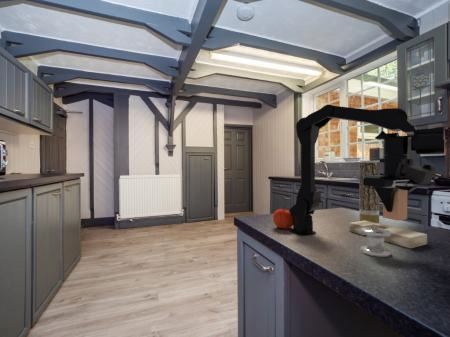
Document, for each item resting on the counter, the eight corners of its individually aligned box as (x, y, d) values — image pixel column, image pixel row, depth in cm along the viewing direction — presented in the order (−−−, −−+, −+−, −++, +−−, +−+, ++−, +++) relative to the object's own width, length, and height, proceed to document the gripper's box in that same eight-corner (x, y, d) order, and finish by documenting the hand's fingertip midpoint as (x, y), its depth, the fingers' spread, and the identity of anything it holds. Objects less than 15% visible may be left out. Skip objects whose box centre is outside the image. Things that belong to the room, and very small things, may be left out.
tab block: (382, 217, 70) (383, 189, 70) (392, 216, 71) (392, 188, 71) (397, 220, 66) (397, 190, 66) (407, 219, 68) (407, 190, 67)
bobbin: (354, 250, 69) (354, 228, 68) (371, 246, 71) (371, 226, 71) (379, 259, 62) (379, 235, 62) (397, 254, 65) (397, 232, 65)
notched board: (349, 231, 88) (349, 222, 88) (364, 228, 91) (364, 220, 91) (410, 248, 70) (410, 237, 70) (427, 244, 73) (427, 234, 73)
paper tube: (382, 226, 94) (382, 160, 94) (362, 225, 96) (362, 161, 95) (375, 222, 101) (375, 161, 100) (357, 221, 102) (357, 161, 102)
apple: (268, 227, 94) (268, 206, 94) (282, 224, 99) (282, 204, 99) (285, 232, 88) (285, 209, 88) (299, 228, 93) (299, 207, 93)
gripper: (404, 153, 57) (403, 220, 58) (450, 154, 65) (449, 214, 65) (361, 155, 68) (361, 211, 68) (405, 155, 75) (404, 207, 75)
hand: (394, 211), depth 69 cm, fingers closed on tab block, 4 cm apart
